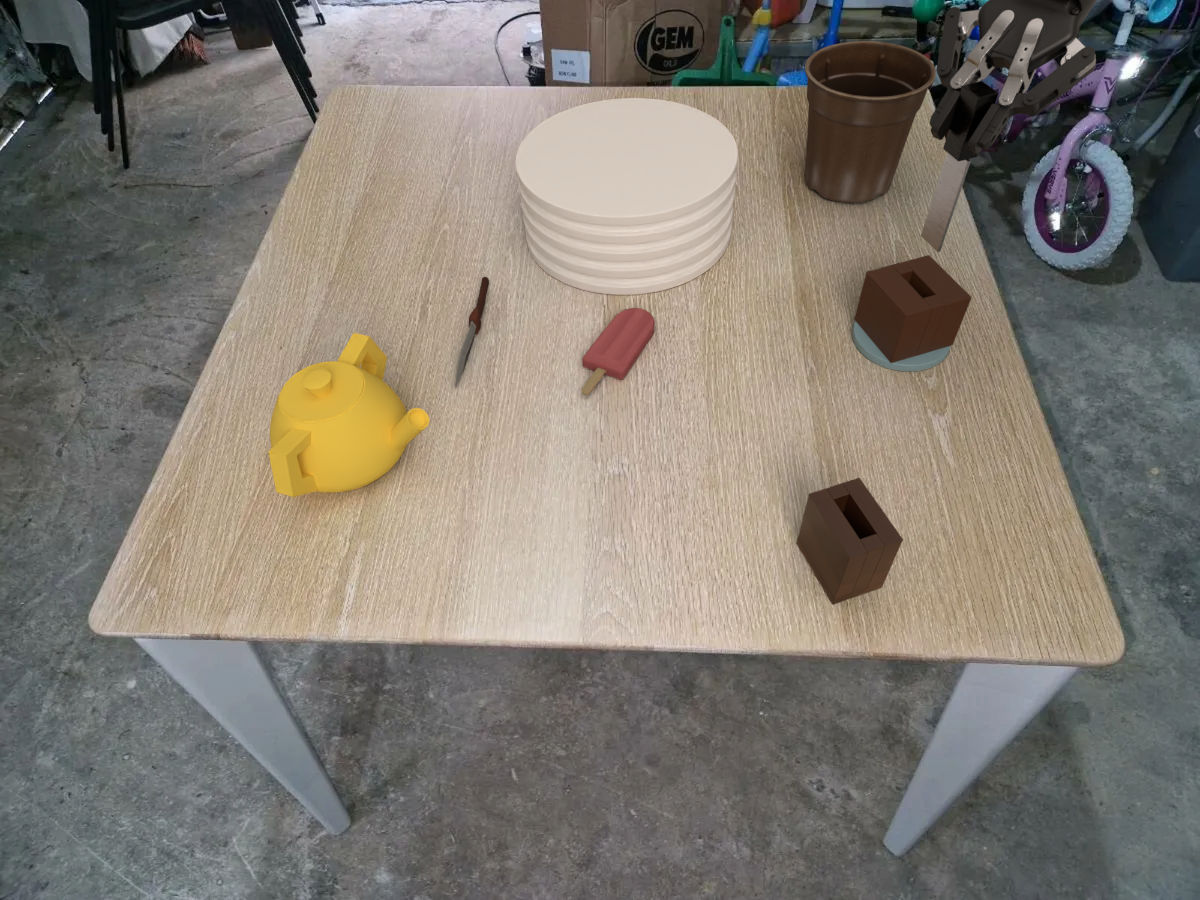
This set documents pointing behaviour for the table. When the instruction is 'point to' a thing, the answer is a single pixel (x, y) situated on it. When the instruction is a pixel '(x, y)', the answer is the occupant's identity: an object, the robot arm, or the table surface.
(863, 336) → the slotted wooden stand
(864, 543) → the knife block
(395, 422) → the teapot
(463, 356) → the knife
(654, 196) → the plate stack
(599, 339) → the popsicle
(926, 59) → the plant pot
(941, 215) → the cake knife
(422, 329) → the table surface
